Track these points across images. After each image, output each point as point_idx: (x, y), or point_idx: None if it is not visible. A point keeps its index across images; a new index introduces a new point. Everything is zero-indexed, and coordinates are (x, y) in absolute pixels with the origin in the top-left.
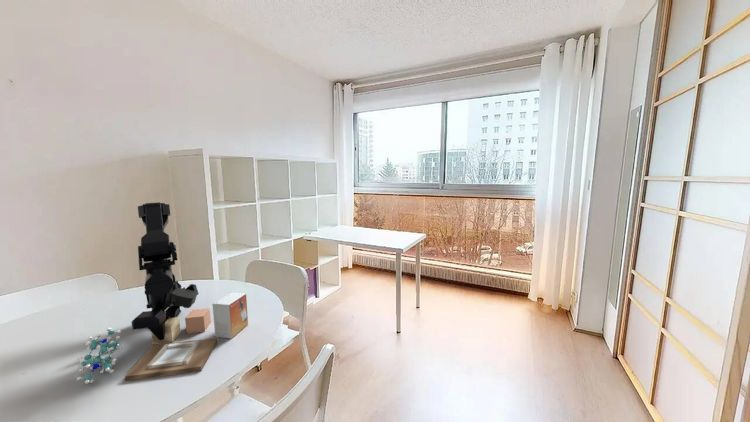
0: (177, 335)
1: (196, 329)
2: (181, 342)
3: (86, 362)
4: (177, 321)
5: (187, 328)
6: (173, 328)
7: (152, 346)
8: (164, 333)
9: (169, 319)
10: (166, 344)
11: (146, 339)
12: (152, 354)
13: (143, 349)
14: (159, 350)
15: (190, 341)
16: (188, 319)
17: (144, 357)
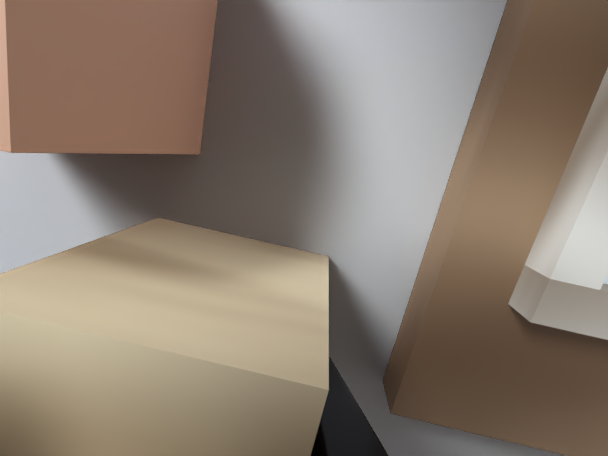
0: (225, 235)
1: (198, 26)
2: (500, 150)
3: None
4: (77, 290)
5: (173, 136)
6: (256, 306)
7: (415, 415)
8: None
9: (17, 445)
10: (536, 309)
11: None
12: (589, 392)
13: None
14: (545, 347)
15: (539, 32)
16: (56, 77)
17: (598, 442)
